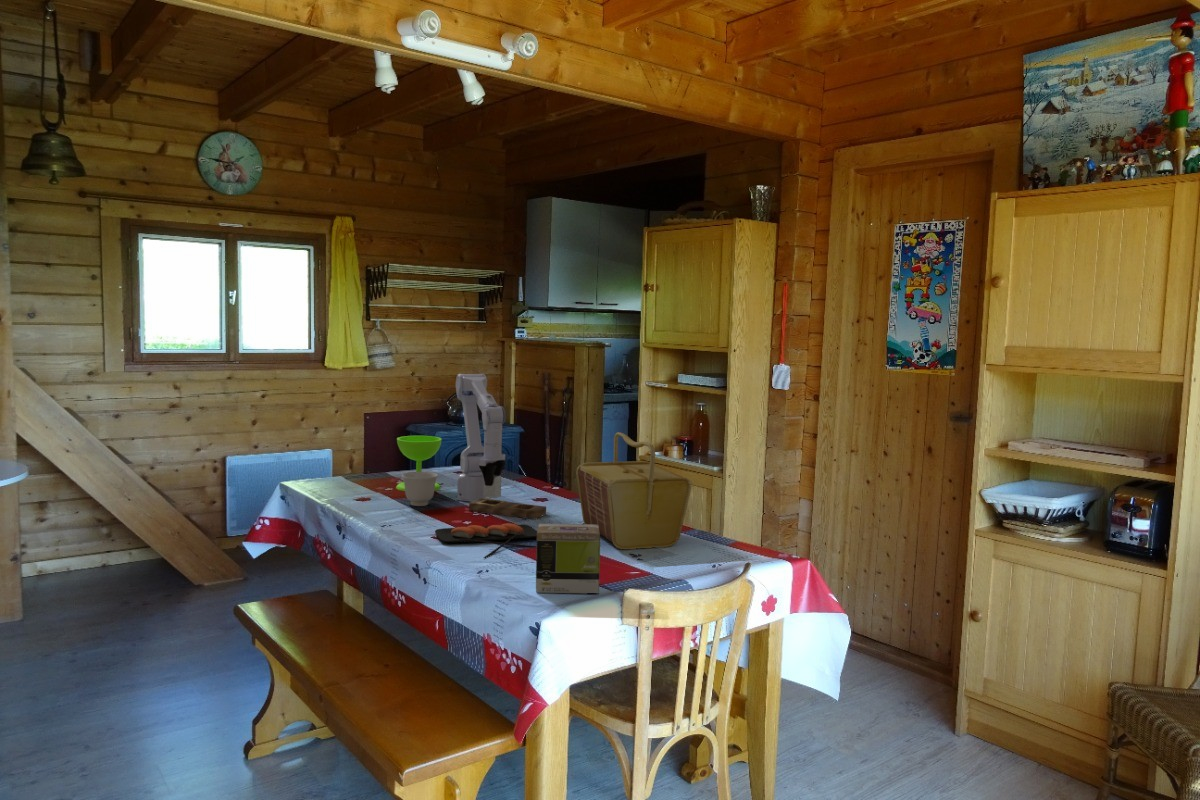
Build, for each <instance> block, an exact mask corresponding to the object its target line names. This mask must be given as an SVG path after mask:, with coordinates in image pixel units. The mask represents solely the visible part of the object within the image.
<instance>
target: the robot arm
mask: <svg viewBox="0 0 1200 800" xmlns="http://www.w3.org/2000/svg"><path fill="white" fill-rule="evenodd" d="M487 387H488V378H487V376H486V375H485V374H484V373H458V374H457V375H456V379H455V391H456V396H457V400H459V401H461V404H462V410H463V411H462V412H463V417H464V418H463V419H464V427H465V436H466V443H467V446H466V448H464V449H463V450H462V451H461V453H460V464H459V465H460V470H461V472H462V473H461V474H459V476H458V479H457V489H456V490H457V492H456V493H457V495H456V496H457V497H456V498H455V499H456V501H462V502H469V503H470V502H473V501H476V500H478V499H492V498H488V497H484V487H485V485H486V486H492V483H493V475H494V474H495V475H501V476H502V472H503V470H504V467H506V461H505V460H506V454H505V453H502V445H503V444H502V443H503V440H502V439H503V425H504V423H505V421H506V411H505V408H504V406H502V405H498V403H497V402H496V400H495V398H494V396H493V395H492V394H491V393H488V391H487V389H488V388H487ZM477 406H478V407H477ZM478 408H479V410H480V411H481V419H482V420H481V421H482V428H483V430H484V433H483V434H484V435H483V445H482V438H481V429H480V423H479V414H478Z"/></svg>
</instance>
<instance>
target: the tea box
mask: <svg viewBox="0 0 1200 800" xmlns="http://www.w3.org/2000/svg"><path fill="white" fill-rule="evenodd" d="M536 531H537V537H536V546H537V548H536V550H535V551H536V552H535V553H536V560H535V561H536V563H535V564H536V565H535V592H536V593H537V594H538V593H539V594H540V593H541V594H587V593H599V594H600V568H601V567H600V565H601V563H600V562H601V560H600V559H601V557H600V556H601V555H600V554H601V534H600V532H599V525H598V524H584V523H583V524H582V523H538V524H537V530H536Z"/></svg>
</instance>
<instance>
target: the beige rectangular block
mask: <svg viewBox="0 0 1200 800" xmlns="http://www.w3.org/2000/svg"><path fill="white" fill-rule="evenodd" d="M501 496H502V474H501V475H495V474H494V475H493V483H492V486H486V485H485V487H484V497H488V498H491V499H498V498H500V497H501Z"/></svg>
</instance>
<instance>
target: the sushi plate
mask: <svg viewBox="0 0 1200 800" xmlns="http://www.w3.org/2000/svg"><path fill="white" fill-rule="evenodd" d="M434 533H435V535H436V537H437V538H438V539H439V540H440V541H441V542H444V543H454V542H461V543H475V542H476V543H477V542H478V543H479V542H480V543H486V544H487V543H488V544H495V545H496V544H497V545H499V546H498V547H496V548H495V549H493V550H492V551H490V552H489V553H488V554H486V555H484V557H483V558H485V559H487V558H489V557H490V555H491V556H492V555H494V554H495V553H497V552H498V551H499V550H500V549H501V548H502V547H503V546H505V545H506V546H512V547H519V548H520V547H521V548H534V547H537V545H531V544H530V545H529V544H519V543H509V542H510V541H512V540H522V539H524V538H525V539H530V538H537V530H536V529H535V528H534V527H533V526H531V525H529V524H523V523H522V524H521V523H520V524H517V523H516V524H515V523H509V522H507V523H503V524H492V525H476V524H472V525H467V526H458V527H447V528H446V527H445V528H438V529H435V530H434ZM511 539H512V540H511ZM498 541H505V542H498ZM493 553H494V554H493ZM488 556H489V557H488ZM486 557H487V558H486Z"/></svg>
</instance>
